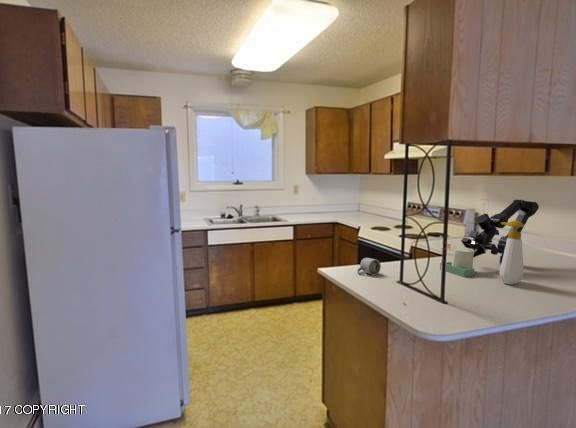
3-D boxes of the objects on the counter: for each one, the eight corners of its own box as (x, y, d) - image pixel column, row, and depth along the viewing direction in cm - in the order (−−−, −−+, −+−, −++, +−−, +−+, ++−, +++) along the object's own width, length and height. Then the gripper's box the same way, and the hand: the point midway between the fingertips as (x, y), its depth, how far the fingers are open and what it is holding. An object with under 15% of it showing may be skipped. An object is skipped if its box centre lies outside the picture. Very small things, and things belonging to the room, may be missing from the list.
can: (472, 275, 175) (473, 251, 173) (451, 272, 179) (453, 249, 178) (473, 270, 183) (474, 248, 181) (453, 268, 187) (455, 246, 186)
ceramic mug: (370, 269, 183) (370, 255, 182) (380, 274, 176) (381, 259, 175) (353, 272, 178) (353, 257, 177) (363, 277, 171) (364, 261, 170)
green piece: (449, 268, 187) (451, 241, 186) (473, 275, 174) (475, 246, 172) (439, 269, 185) (441, 242, 183) (463, 277, 171) (465, 247, 170)
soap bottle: (503, 277, 171) (509, 218, 168) (527, 283, 163) (533, 220, 159) (489, 281, 165) (494, 220, 161) (513, 288, 156) (518, 222, 152)
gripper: (464, 222, 191) (448, 244, 188) (496, 228, 173) (478, 251, 171) (474, 236, 194) (457, 257, 192) (506, 242, 177) (489, 266, 174)
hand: (470, 258), depth 182 cm, fingers closed, pressing on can
